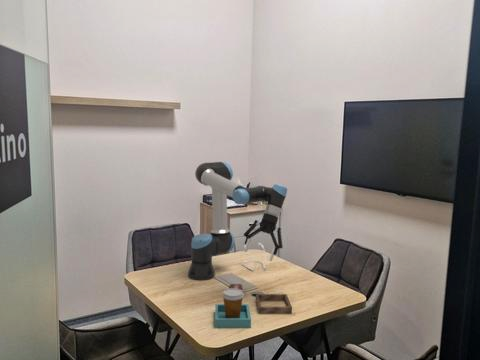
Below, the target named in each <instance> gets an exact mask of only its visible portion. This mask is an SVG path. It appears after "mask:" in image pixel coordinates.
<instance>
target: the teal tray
mask: <svg viewBox="0 0 480 360" xmlns="http://www.w3.org/2000/svg"><path fill="white" fill-rule="evenodd" d="M214 309H215V310H214V328H215V329H216V328H217V329H219V328H222V329H223V328H225V329H226V328H234V329H235V328H237V329H238V328H239V329H241V328H243V329H244V328H246V329H247V328H252V317H251V311H250V305H249V303H242V305H241V312H240V318H226V316H225V307H224V303H216V304H215V306H214Z"/></svg>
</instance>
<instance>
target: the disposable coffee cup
mask: <svg viewBox="0 0 480 360" xmlns="http://www.w3.org/2000/svg"><path fill="white" fill-rule="evenodd" d="M242 290H243V289H242ZM242 290H240V289H236V288H229V287H228V288H226V289H224V290H223V292H222V298H223V304H224V307H225V316H226V318H240V312H241V305H242V304H243V298H244V295H245V294H244V291H243V292H242Z"/></svg>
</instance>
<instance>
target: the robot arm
mask: <svg viewBox="0 0 480 360" xmlns="http://www.w3.org/2000/svg"><path fill="white" fill-rule="evenodd" d="M233 173H234V172H233V169H232V166H231V165H230V164H229V163H228V162H225V161H213V162H203V163H201V164H199V165H198V166H197V167H196V169H195V174H194V175H195V179H196V180H197V181H198V183H199V184H202V185H203V186H206V187H210V189H211V202H212V203H211V204H212V206H211V207H212V209H211V210H212V229H211V230H210V233H199V234H196V235H194V236H193V237H192V239H191V245H190V246H191V247H190V248H191V250H190V251H191V252H190V253H191V254H190V255H191V258H190V260H191V263H190V266H189V268H188V274H187V276H188V278H189V279H191V280H194V281H195V280H196V281H208V280H211V279H214V277H215V275H216V272H215V268H214V265H213V257H215V256H218V255H222V254H226V253H230V252H231V251H232V250H234V247H235V241H236V240H235V237H234V235H233V234H232V233H231V230H230V228H229V227H228V201H227V200H228V198H227V197H228V196H229V197H230V198H232V201H234V203H235V204H236V205H245V204H252V203H259V202H267V203H266V207H265V208H264V213H263V215H262V218H261V221H259V220H257V219H256V220H254V221H253V224H251V226H250V227H249V228H248V229H247V230H246V231H245V232H244V233H243V236H244V237H245V241H244V246H245V245H246V246H245V248H244V249H243V252H246V253H248V252H247V251H248V250H249V247H250V243H251V242H252V239H251V238H253V237H255V236H256V235H258V234H259V233H261V232H262V233H265V234H267V235H270V237H271V240H272V242H273V245H274V247H273V248H272V251H271V253H270V256H269V259H268V261H270V262H272V261H273V259H274V256H277V254H278V252H279V251H278V250H279V249H283V241H282V239H283V238H282V228H281V227H277V224H278V220H279V217H280V216H281V212H282V210H283V209H282V208H283V205H284V202H285V200H286V198H287V194H288V188H287V186H285V185H282V184H280V183H274V184H273V186H272V187H269V186H265V185H255V186H254V187H245V186H243V185H240V184H239V183H237V182H234V181H232V179H233V176H234V174H233ZM257 226H259V227H258V228H257V229H256V227H257ZM274 231H276V235H277V238H276V236H275V233H274Z"/></svg>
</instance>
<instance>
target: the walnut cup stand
mask: <svg viewBox="0 0 480 360" xmlns="http://www.w3.org/2000/svg"><path fill="white" fill-rule="evenodd" d="M287 294H288V293H265V294H264V293H255V303H256V309H257V312H258V314H259V315H264V314H265V315H267V314H268V315H269V314H270V315H275V314H276V315H279V314H281V315H283V314H284V315H286V314H293V307H292V304H291V301H290V299H289V297H288V295H287ZM261 302H284V304H285V306H278V305H277V306H273V305H272V306H264V305H263V306H262V305H261Z"/></svg>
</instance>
